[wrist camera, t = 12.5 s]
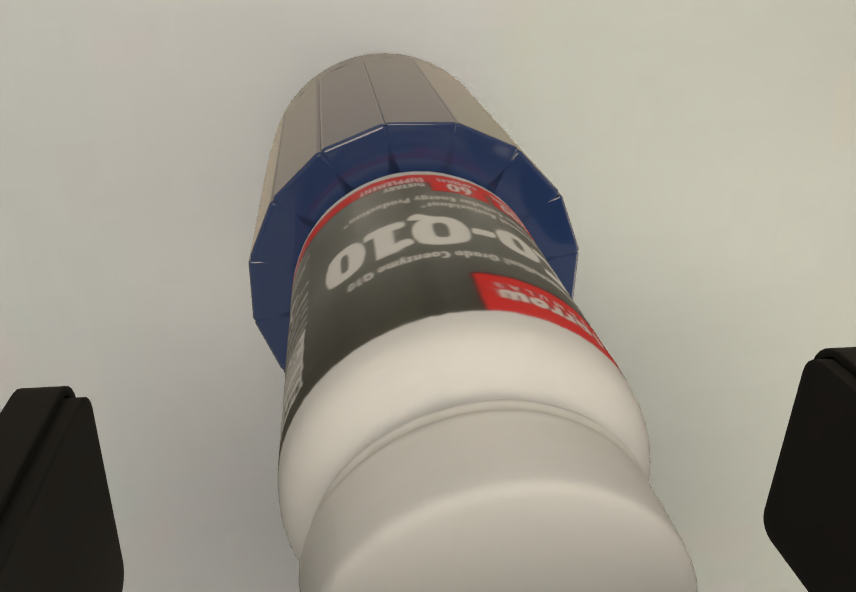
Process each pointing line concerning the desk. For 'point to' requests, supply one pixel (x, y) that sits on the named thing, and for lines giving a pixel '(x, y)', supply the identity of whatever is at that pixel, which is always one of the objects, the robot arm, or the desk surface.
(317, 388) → the pill bottle
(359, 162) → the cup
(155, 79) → the desk surface
